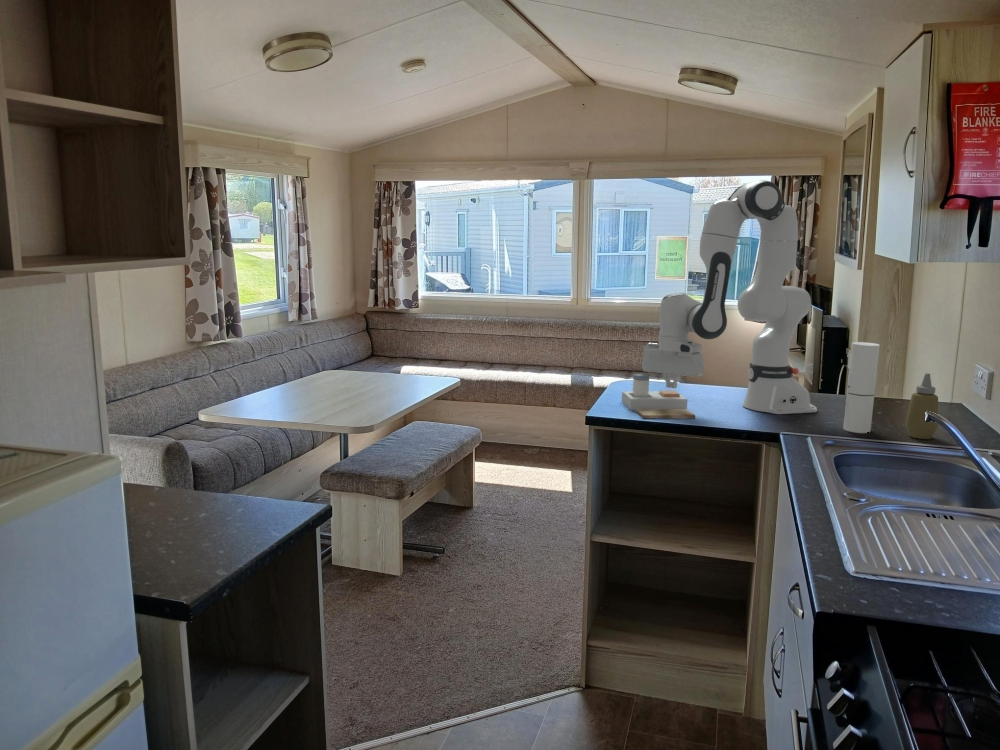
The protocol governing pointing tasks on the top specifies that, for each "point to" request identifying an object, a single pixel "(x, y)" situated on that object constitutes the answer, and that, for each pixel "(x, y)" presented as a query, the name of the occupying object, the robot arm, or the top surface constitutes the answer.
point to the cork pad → (665, 413)
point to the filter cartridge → (640, 385)
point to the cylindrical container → (861, 387)
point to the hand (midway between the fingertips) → (671, 387)
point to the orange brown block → (669, 394)
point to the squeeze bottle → (922, 410)
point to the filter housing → (653, 401)
